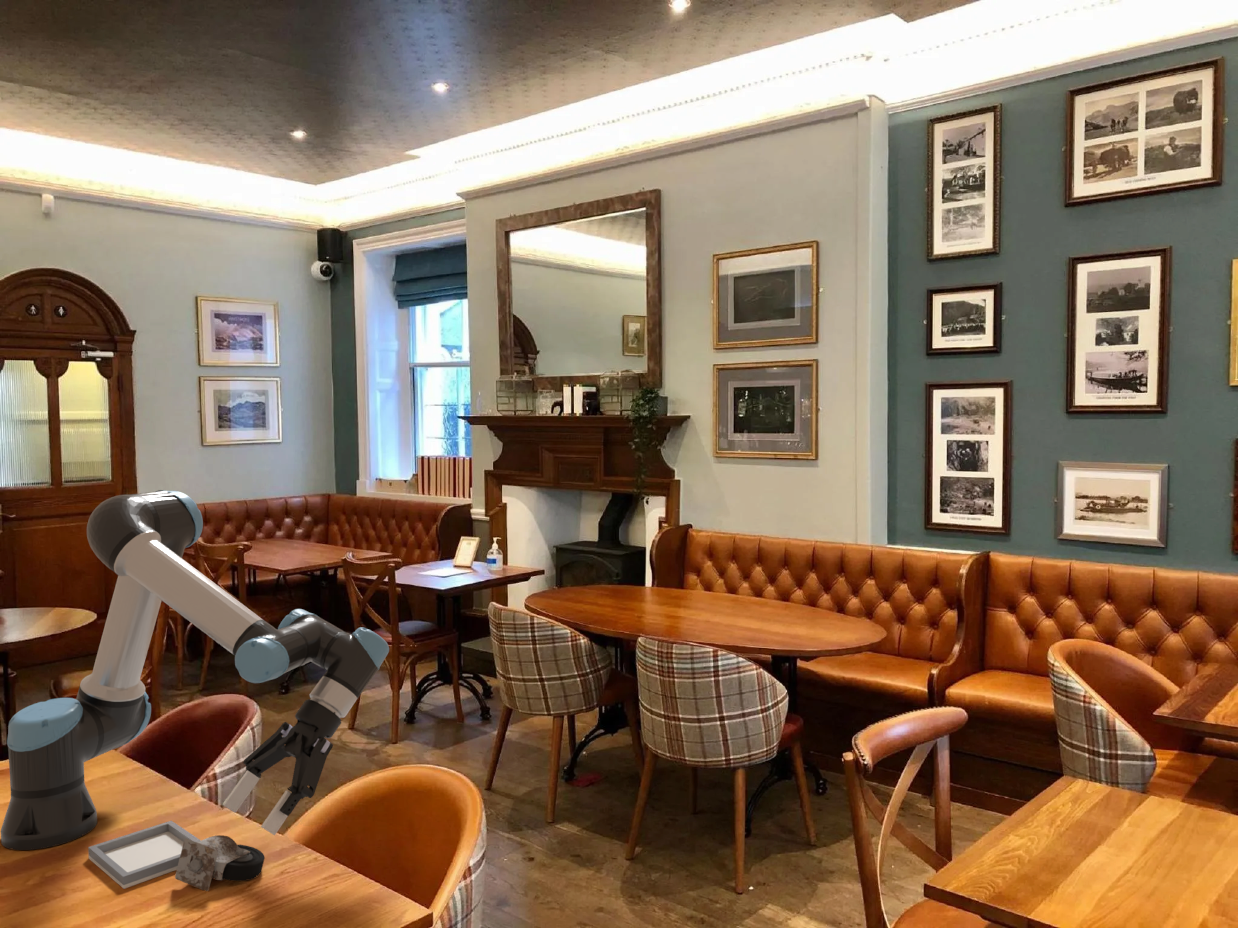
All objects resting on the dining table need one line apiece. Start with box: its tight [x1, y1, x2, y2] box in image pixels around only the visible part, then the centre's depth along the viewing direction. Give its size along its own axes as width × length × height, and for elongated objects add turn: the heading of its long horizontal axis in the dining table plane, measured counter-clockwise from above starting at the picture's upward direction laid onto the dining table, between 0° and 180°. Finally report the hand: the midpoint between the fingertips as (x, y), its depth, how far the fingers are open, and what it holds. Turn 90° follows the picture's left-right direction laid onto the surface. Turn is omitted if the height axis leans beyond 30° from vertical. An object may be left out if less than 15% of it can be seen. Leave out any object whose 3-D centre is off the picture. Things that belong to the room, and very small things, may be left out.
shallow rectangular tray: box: [87, 820, 201, 889], centre depth 160 cm, size 16×14×2 cm
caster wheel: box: [174, 834, 266, 892], centre depth 153 cm, size 7×11×10 cm
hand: (247, 819), depth 154 cm, fingers open, 13 cm apart
